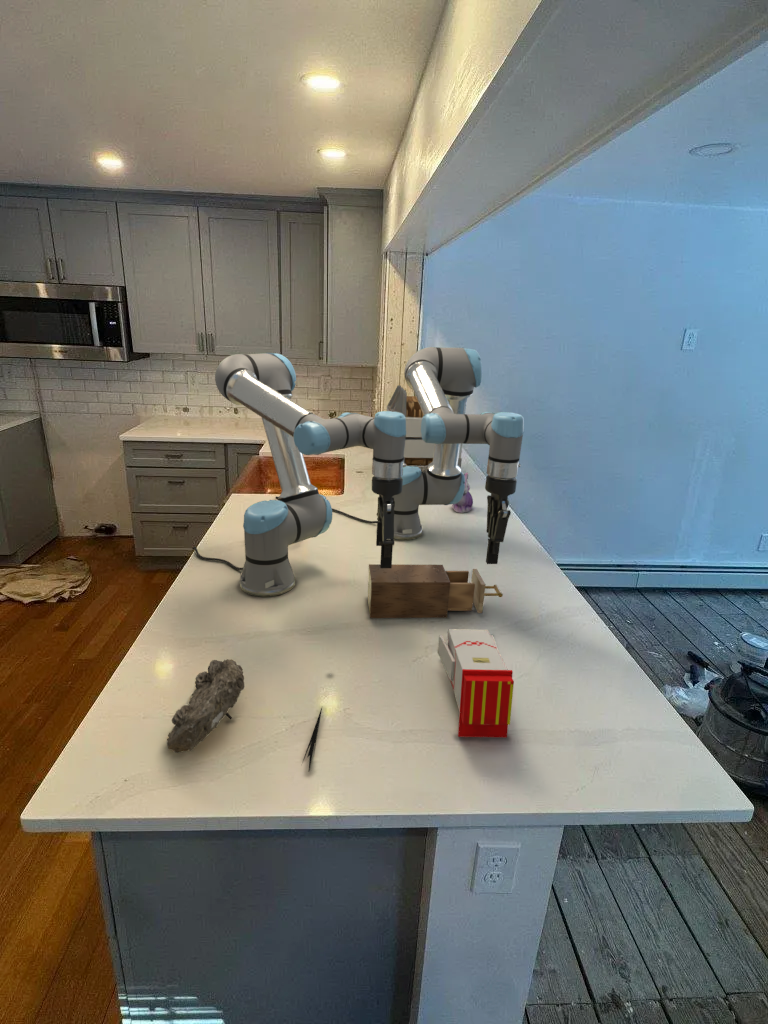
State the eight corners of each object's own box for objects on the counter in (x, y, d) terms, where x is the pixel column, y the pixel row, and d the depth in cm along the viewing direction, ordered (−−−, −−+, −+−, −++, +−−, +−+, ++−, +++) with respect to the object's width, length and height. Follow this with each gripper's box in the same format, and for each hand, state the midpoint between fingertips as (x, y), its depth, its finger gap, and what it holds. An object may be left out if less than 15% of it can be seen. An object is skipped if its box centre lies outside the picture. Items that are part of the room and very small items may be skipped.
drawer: (493, 596, 157) (497, 568, 154) (503, 613, 149) (507, 584, 146) (406, 596, 155) (408, 568, 152) (410, 613, 146) (412, 584, 143)
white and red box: (488, 613, 130) (523, 677, 101) (484, 667, 133) (517, 744, 104) (435, 612, 130) (455, 676, 101) (432, 666, 133) (451, 743, 103)
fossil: (192, 660, 117) (244, 628, 112) (224, 691, 120) (276, 661, 115) (142, 746, 98) (202, 712, 93) (182, 779, 101) (242, 748, 96)
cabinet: (439, 598, 157) (442, 564, 153) (447, 617, 147) (450, 582, 143) (367, 598, 155) (368, 564, 151) (370, 618, 145) (371, 582, 141)
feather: (331, 679, 122) (336, 673, 122) (307, 777, 96) (313, 769, 95) (324, 675, 122) (329, 669, 121) (298, 772, 95) (304, 764, 95)
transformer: (382, 463, 289) (386, 382, 275) (445, 464, 293) (451, 384, 279) (390, 482, 257) (394, 392, 243) (460, 483, 261) (468, 394, 247)
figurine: (459, 514, 221) (463, 477, 216) (445, 506, 229) (448, 470, 224) (479, 511, 225) (483, 475, 220) (464, 503, 234) (467, 468, 228)
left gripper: (409, 492, 127) (403, 578, 134) (397, 463, 150) (393, 537, 157) (375, 492, 126) (372, 578, 133) (369, 462, 149) (366, 537, 156)
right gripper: (524, 484, 135) (512, 573, 143) (508, 469, 147) (498, 552, 155) (494, 483, 134) (483, 573, 142) (480, 468, 146) (471, 552, 154)
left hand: (383, 556), depth 145 cm, fingers open, 13 cm apart
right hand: (491, 562), depth 148 cm, fingers closed
